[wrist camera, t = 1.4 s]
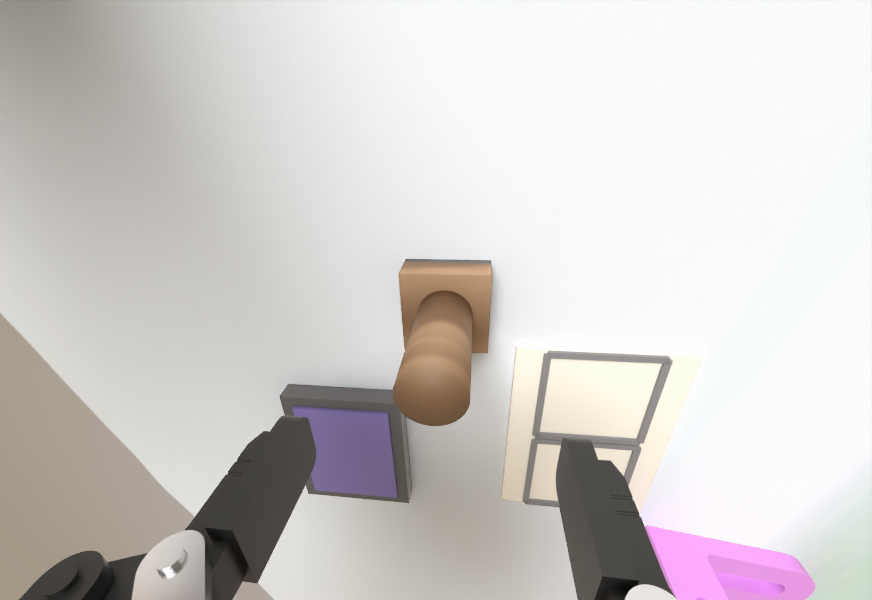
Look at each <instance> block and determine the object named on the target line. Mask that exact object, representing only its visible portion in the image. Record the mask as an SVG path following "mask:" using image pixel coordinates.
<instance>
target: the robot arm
mask: <svg viewBox="0 0 872 600" xmlns="http://www.w3.org/2000/svg"><path fill="white" fill-rule="evenodd" d="M315 461H316V447H315V443H314V439H313V435H312V431H311V427H310V422H309V420H308V418H307V417H298V416H282V417H281V418H279V420H278V421H277V423H276V424H275V425H274V427H273V428H272V430H271V431H270V432H267V431H264V432H262V433H261V434H260V435H259V436H257V437H256V438H255V439H254V440H253V441H251V442H250V443H249V444H248V445H247V446H246V448H245V449H244V451H243V452H242V453H241V455H240V456H239V457H238V459H237V462H235V463H234V464H233V466H232V467H231V468H230V470H229V471H228V474H227V475H225V477H224V478H223V479H222V481H221V482H220V483H219V485H218V486H217V488H216V489H215V490H214V492H213V493H212V494H211V496H210V497H209V499H208V500H207V501H206V503H205V504H204V505H203V507H202V508H201V510H200V511H199V512H198V514H197V515H196V516H195V518H194V519H193V521H192V522H191V523H190V524H189V526H188V527H187V528H186V529H185V530H184V531H180V532H178V533H175V534H172V535H171V536H169V537H167V538H165V539H164V540H162V541H161V542H160V543H158V544H157V545H156V546H155V547H154V548H153V549H152V550H151V551H150V552H149V553H146V554H142V555H138V556H133V557H129V558H125V559H120V560H116V561H111V562H107V561H106V560H105V559H104V558H103V557H102V555H101V554H100V553H98V552H96V551H85V552H80V553H78V554H75V555H72V556H70V557H68V558H66V559H64V560H62V561H61V562H59V563H58V564H56V565H54V566H53V567H52V568H50V569H49V570H48V571H47V572H46V573H44V574H43V575H42V576H41V577H40V578H39V579H38V580H37V581H36V582H35V583H34V584H33V585H32V586H31V587H30V588H29V590H28V591H27V592H26V593H25V594H24V595H23V596H22V597H21V598H20V599H19V600H236V598H235V594H236V592H237V591H238V589H239V587H240V585H241V583H242V581H244V582H252V583H258V581H259V579H260V577H261V575H262V572H263V570H264V568H265V566H266V564H267V562H268V560H269V558H270V556H271V554H272V552H273V550H274V548H275V546H276V544H277V542H278V540H279V538H280V536H281V534H282V532H283V530H284V528H285V526H286V523H287V521H288V519H289V517H290V515H291V513H292V511H293V509H294V507H295V505H296V503H297V501H298V499H299V497H300V495H301V493H302V491H303V489H304V487H305V485H306V483H307V481H308V479H309V477H310V474H311V472H312V470H313V468H314V465H315ZM556 491H557V497H558V502H559V507H560V512H561V517H562V522H563V527H564V532H565V537H566V542H567V547H568V552H569V557H570V562H571V567H572V572H573V577H574V583H575V588H576V593H577V598H578V600H678V599H677V598H676V597H675V596H674V594H673V593H672V591H671V589H670V588H669V586H668V584H667V581H666V579H665V577H664V574H663V572H662V569H661V567H660V564H659V562H658V559H657V557H656V554H655V552H654V549H653V547H652V544H651V542H650V539H649V537H648V534H647V532H646V529H645V527H644V524H643V522H642V519H641V517H639V512H638V509H637V507H636V504H635V502H634V501H633V498H632V497H633V496H632V494H631V491H630V489H629V486H628V484H627V481H626V479H625V477H624V476H623V475H622V473H621V472H620V471H619V470H618V469H617V467H616V466H615V465H614V464H613V463H612V462H611V461H609V460H598V458H597V455H596V452H595V449H594V446H593V444H592V442H591V440H589V439H576V438H563V439H562V443H561V448H560V453H559V458H558V464H557V469H556Z"/></svg>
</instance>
